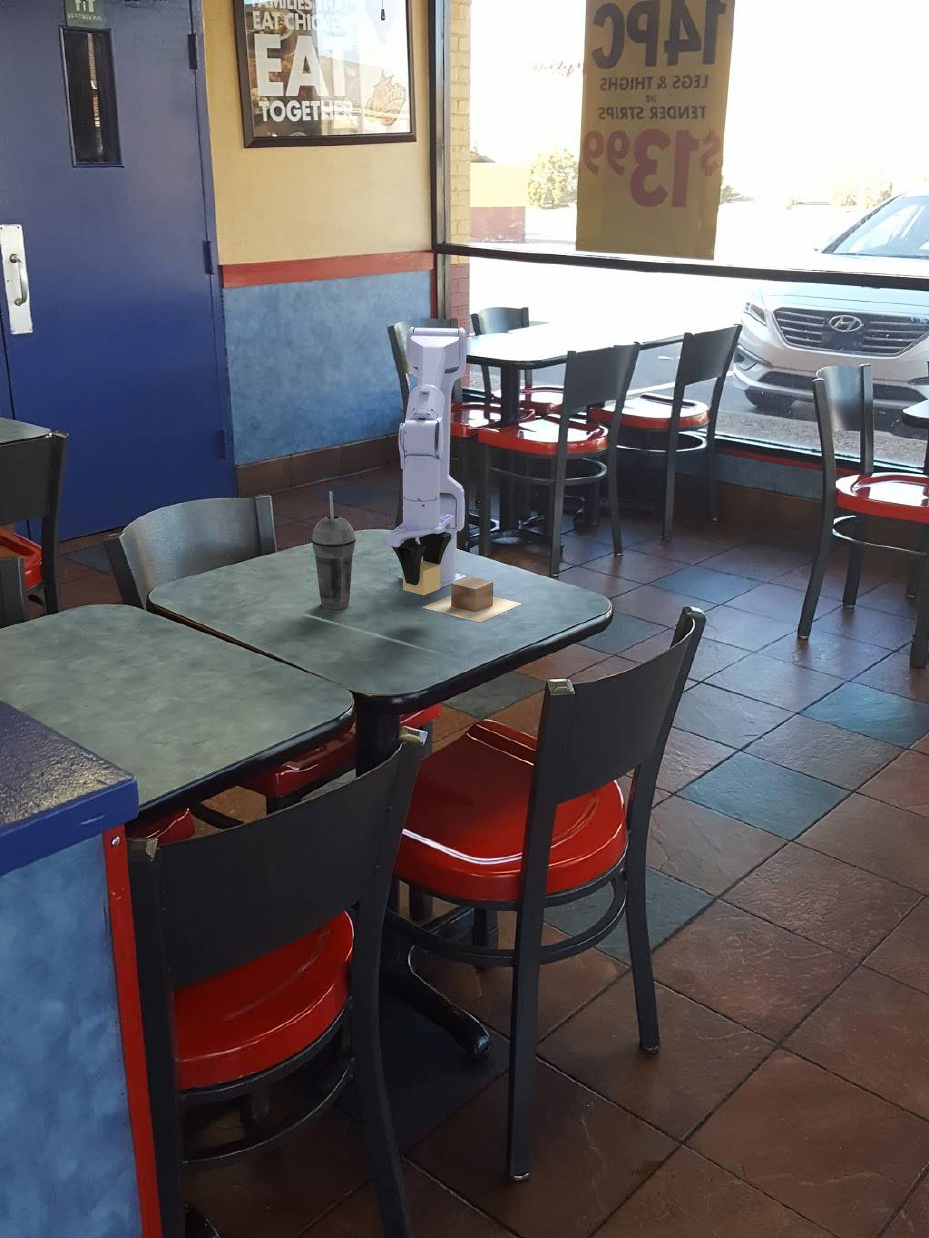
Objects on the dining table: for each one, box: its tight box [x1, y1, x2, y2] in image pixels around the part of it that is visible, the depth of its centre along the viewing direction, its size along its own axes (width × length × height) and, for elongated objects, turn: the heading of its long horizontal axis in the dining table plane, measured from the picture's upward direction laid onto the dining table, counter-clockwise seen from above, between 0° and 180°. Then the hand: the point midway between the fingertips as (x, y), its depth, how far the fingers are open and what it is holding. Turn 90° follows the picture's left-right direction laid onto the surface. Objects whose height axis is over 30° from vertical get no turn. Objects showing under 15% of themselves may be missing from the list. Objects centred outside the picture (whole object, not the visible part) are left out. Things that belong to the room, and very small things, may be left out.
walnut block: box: [450, 575, 494, 612], centre depth 200 cm, size 5×5×4 cm
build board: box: [421, 594, 522, 624], centre depth 201 cm, size 12×12×1 cm
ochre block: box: [402, 561, 441, 596], centre depth 191 cm, size 4×4×4 cm
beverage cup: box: [311, 490, 357, 610], centre depth 197 cm, size 7×7×20 cm
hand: (421, 580), depth 191 cm, fingers closed on ochre block, 4 cm apart
